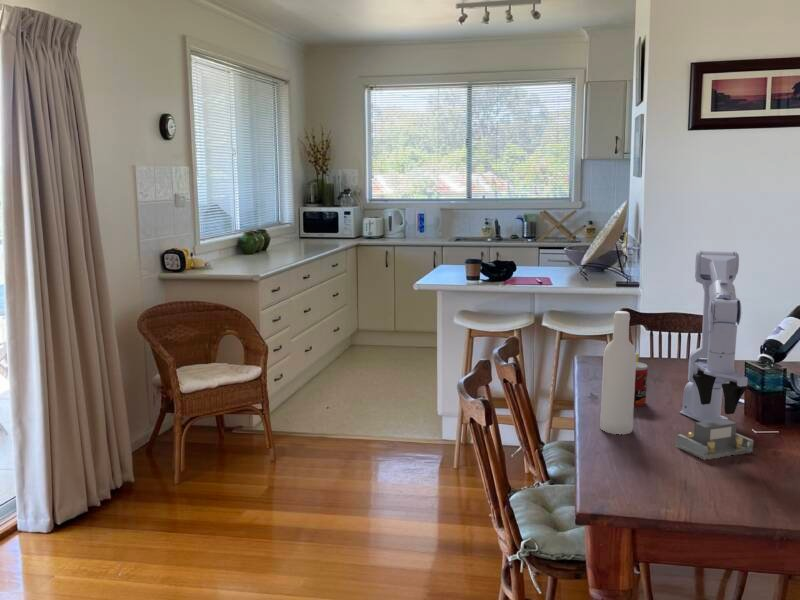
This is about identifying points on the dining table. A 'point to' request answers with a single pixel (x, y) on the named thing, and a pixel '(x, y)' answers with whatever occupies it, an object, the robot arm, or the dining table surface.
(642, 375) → the canned food
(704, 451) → the pin tray
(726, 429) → the block
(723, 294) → the robot arm
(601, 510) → the dining table surface
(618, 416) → the bottle
